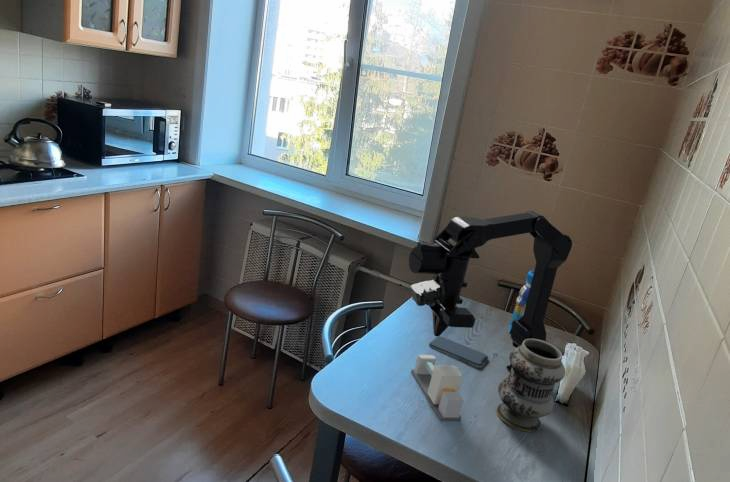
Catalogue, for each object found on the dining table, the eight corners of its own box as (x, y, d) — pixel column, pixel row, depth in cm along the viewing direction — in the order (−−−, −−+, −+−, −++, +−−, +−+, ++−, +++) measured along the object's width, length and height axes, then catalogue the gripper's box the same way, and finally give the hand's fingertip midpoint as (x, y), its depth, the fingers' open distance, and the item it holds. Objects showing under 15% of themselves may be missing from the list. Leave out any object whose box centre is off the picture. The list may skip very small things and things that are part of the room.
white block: (447, 393, 118) (455, 365, 116) (454, 404, 115) (462, 376, 113) (427, 393, 117) (434, 365, 115) (433, 404, 113) (441, 375, 111)
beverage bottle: (515, 325, 165) (533, 267, 159) (539, 337, 160) (559, 278, 154) (502, 331, 159) (520, 271, 153) (526, 344, 154) (546, 282, 148)
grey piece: (429, 372, 128) (434, 353, 126) (460, 420, 112) (466, 399, 110) (411, 372, 126) (415, 353, 125) (439, 420, 110) (445, 399, 109)
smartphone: (438, 334, 147) (489, 355, 140) (437, 340, 147) (488, 360, 141) (428, 343, 141) (480, 365, 134) (426, 349, 141) (479, 371, 134)
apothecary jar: (523, 441, 109) (549, 367, 103) (480, 407, 118) (502, 337, 112) (556, 427, 116) (582, 357, 111) (514, 396, 125) (535, 330, 120)
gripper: (404, 255, 122) (391, 315, 127) (436, 290, 105) (419, 357, 110) (447, 259, 126) (432, 316, 130) (484, 292, 109) (466, 357, 114)
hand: (436, 335), depth 121 cm, fingers closed
